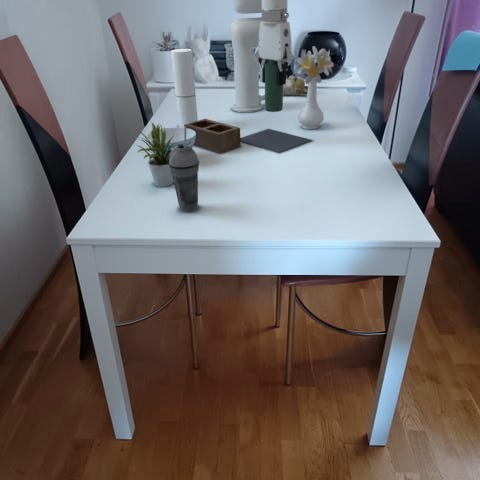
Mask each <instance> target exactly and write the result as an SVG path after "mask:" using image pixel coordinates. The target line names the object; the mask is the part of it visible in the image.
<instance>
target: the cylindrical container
mask: <svg viewBox="0 0 480 480" xmlns="http://www.w3.org/2000/svg"><path fill="white" fill-rule="evenodd" d="M170 54H171V55H170V56H171V64H172V72H173V73H172V74H173V82H174V92H175V102H176V110H177V119H178V120H177V121H178V128H184V124H188V123H191V122H195V121H198V107H197V96H196V84H195V71H194V58H193V50H192V49H190V48H177V49H172V50H170Z"/></svg>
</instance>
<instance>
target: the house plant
mask: <svg viewBox="0 0 480 480" xmlns="http://www.w3.org/2000/svg"><path fill="white" fill-rule="evenodd" d="M151 128H152V129H151V131H150V132H151V135H152V139H153V141H152V142H153V144H151V142H150V141H149V140H148V139H147V137H146V136H147V135H145V134H144V133H143V132H142V131H140V130H138V129H132V128H131V129H130V131H131V130H133V131H136V132H137V133H139V134H141V135H142V136H143V137H141V141H142V142H143V143H144V144H146V146H147V147H145V148H144V147H143V146H141V145H137V144H136V145H135V146H136V147H139V148H140V149H138V151H136V154H137V153H140V152H142V151H144V153H145V154H144V156H143V160H145V159H146V158H148V159H149V160H148V162H147V164H148V167H149V170H150V172H151V176H152V180H153V183H154V185H155V186H156V187H160V188H164V187H169V186H172V185H173V184H174V180H173V175H172V173H171V169H170V166H169V158H170V155H171V154H170V152H171V151H172V150H171V149H170V147H172V146H173V145H174V144H176V143H173V144H172V145H171V146H170V147H169V148H168V146H169V144H170V142H171V140H172V138H173V137H174V136H175V135H174V134H173V135H174V136H172V137H171V138H170V140H169V141H168V142H167V144H166V147H165V139H166V130H165V128H166V127H165V126H163V125H162V124H161V123H158V124H157V125H155V123H154V122H153V121H151ZM160 129H161V145H160ZM163 129H164V132H163ZM176 135H177V134H176ZM133 139H140V136H139V137H138V136H135V137H134V136H133ZM147 140H148V141H149V142H148V141H147ZM148 143H149V144H150V145H151V146H152V147H153V148H151V147H150V146H149V144H148ZM179 144H180V143H179ZM167 148H168V150H167ZM164 149H165V150H164ZM154 151H155V152H156V154H155V152H154ZM166 151H167V152H166ZM165 153H166V155H165ZM169 154H170V155H169ZM168 155H169V156H168Z"/></svg>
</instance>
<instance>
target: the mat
mask: <svg viewBox="0 0 480 480" xmlns="http://www.w3.org/2000/svg"><path fill="white" fill-rule="evenodd" d="M240 140H241V143H243V144H247V145H250V146H254V147H257V148H260V149H264V150H267V151H270V152H275V153H278V154H281V153H283V152H286V151H289V150H291V149H294V148H297V147H299V146H302V145H305V144H307V143H310V142H312V141H313V140H312V139H310V138H307V137H301V136H299V135H294V134H289V133H287V132H282V131H278V130H275V129H271V128H267V129H263V130H261V131H258V132H254V133H251V134H248V135H246V136H245V135H244V136H241V137H240Z"/></svg>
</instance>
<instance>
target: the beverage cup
mask: <svg viewBox="0 0 480 480" xmlns="http://www.w3.org/2000/svg"><path fill="white" fill-rule="evenodd" d="M199 165H200V160H199V158H198V155H197V153H196V151H195V150H194V149H193V148H190V147H188V146H186V126H184V145H182V146H178V147H176V148H175V149H174V150H173V151H172V153H171V155H170V158H169V166H170V169H171V173H172V175H173V184H174V189H175V193H176V199H177V203H178V206H179V211H181V212H182V213H193V212H195V211H197V210H198V206H199V205H198V204H199V167H200V166H199Z"/></svg>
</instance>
